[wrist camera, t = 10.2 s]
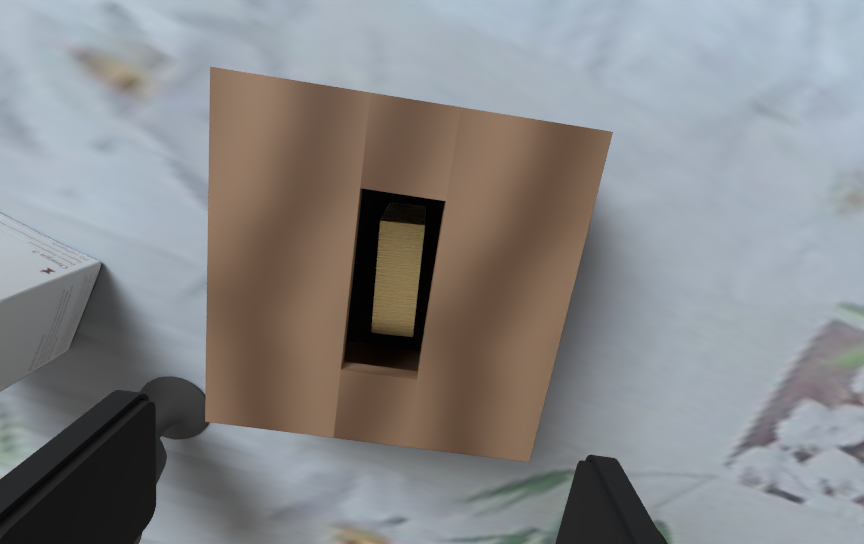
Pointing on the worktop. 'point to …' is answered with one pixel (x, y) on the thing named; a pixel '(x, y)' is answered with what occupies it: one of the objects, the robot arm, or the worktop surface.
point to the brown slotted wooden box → (335, 255)
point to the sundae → (174, 413)
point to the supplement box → (38, 298)
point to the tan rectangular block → (398, 269)
